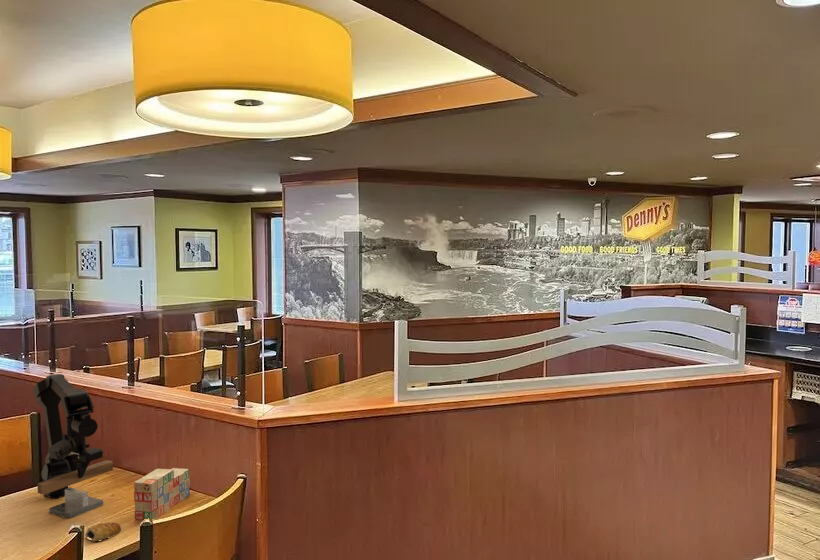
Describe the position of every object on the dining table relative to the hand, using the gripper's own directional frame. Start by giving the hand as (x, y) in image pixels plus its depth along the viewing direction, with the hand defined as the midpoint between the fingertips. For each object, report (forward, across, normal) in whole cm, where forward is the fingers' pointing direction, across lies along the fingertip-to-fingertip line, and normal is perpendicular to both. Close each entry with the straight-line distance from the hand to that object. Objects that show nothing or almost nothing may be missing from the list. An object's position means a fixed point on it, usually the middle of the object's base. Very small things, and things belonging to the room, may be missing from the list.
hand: (77, 476), depth 203 cm
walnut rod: (+1, 0, 0) cm, 1 cm away
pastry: (+11, +24, -10) cm, 28 cm away
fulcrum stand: (+11, 0, 0) cm, 11 cm away
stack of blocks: (+11, +24, +14) cm, 30 cm away
